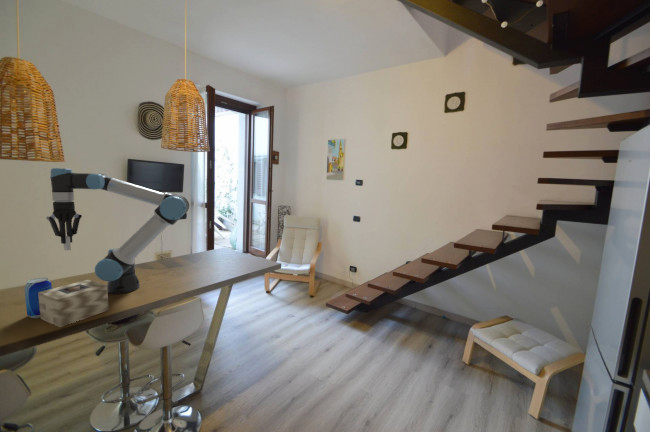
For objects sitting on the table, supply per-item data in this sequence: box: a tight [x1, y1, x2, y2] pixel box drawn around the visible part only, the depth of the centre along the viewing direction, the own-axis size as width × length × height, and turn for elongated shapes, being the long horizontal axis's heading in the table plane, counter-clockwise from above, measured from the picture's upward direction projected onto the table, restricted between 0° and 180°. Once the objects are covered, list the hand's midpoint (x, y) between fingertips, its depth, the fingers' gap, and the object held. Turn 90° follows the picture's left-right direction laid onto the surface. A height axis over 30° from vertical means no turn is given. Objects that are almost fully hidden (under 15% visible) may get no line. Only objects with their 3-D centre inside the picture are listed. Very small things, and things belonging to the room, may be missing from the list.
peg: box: [68, 286, 80, 292], centre depth 126 cm, size 4×4×11 cm
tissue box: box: [38, 279, 110, 328], centre depth 127 cm, size 18×16×12 cm
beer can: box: [23, 277, 53, 319], centre depth 125 cm, size 8×8×16 cm
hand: (67, 249), depth 136 cm, fingers closed
